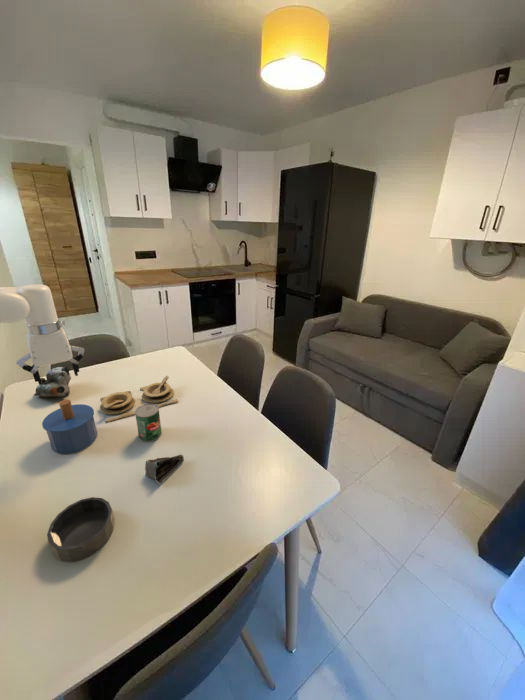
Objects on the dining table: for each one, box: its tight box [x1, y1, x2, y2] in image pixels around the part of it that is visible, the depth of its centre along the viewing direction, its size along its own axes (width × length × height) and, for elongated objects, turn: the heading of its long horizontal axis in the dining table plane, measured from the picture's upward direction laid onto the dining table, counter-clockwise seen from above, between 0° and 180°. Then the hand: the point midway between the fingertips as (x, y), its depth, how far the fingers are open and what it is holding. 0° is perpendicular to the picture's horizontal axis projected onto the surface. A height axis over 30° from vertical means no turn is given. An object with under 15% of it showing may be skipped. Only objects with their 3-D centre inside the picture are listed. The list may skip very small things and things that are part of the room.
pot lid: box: [41, 398, 95, 433], centre depth 97 cm, size 15×15×7 cm
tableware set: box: [99, 375, 179, 423], centre depth 124 cm, size 30×20×6 cm, turn 124°
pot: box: [46, 416, 98, 455], centre depth 100 cm, size 14×14×10 cm
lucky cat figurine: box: [33, 366, 72, 398], centre depth 126 cm, size 15×12×14 cm
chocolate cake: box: [144, 454, 185, 486], centre depth 91 cm, size 10×7×12 cm
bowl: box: [46, 496, 115, 563], centre depth 72 cm, size 13×13×4 cm
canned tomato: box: [134, 403, 163, 443], centre depth 104 cm, size 8×8×11 cm
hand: (58, 378), depth 92 cm, fingers open, 9 cm apart
